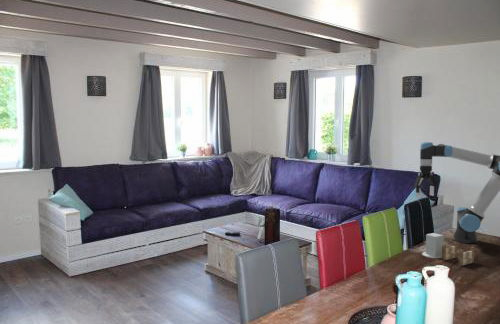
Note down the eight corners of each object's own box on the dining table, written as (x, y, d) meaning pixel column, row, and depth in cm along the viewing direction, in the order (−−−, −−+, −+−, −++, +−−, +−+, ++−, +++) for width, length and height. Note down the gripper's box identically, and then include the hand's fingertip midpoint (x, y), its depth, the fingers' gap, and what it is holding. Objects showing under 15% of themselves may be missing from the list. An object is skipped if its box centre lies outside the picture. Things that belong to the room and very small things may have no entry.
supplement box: (443, 255, 269) (444, 235, 268) (435, 257, 266) (435, 236, 264) (433, 252, 275) (434, 232, 274) (425, 254, 272) (425, 234, 271)
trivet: (430, 251, 280) (430, 250, 279) (447, 256, 269) (447, 255, 269) (418, 254, 274) (418, 253, 274) (434, 259, 263) (434, 258, 263)
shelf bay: (454, 256, 268) (454, 242, 267) (474, 262, 257) (474, 247, 256) (441, 259, 262) (442, 245, 262) (461, 266, 251) (461, 250, 250)
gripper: (433, 163, 304) (432, 193, 306) (408, 165, 291) (407, 197, 294) (442, 164, 297) (441, 195, 299) (418, 166, 285) (417, 199, 287)
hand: (425, 196), depth 296 cm, fingers open, 13 cm apart
